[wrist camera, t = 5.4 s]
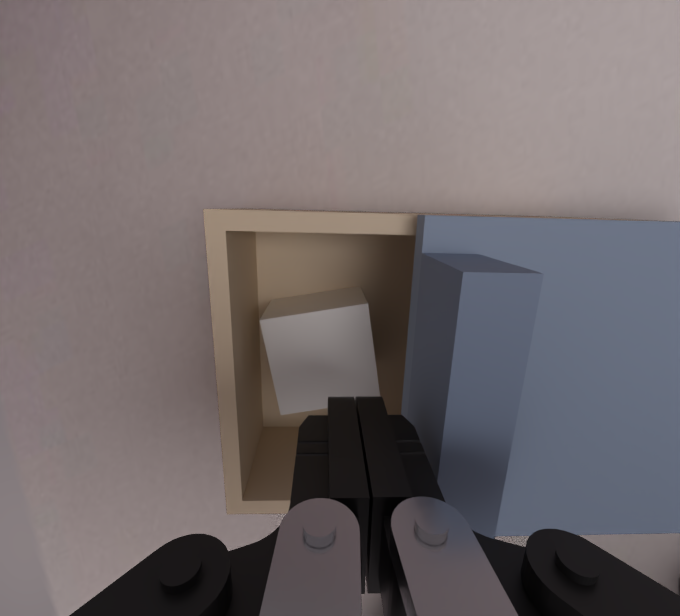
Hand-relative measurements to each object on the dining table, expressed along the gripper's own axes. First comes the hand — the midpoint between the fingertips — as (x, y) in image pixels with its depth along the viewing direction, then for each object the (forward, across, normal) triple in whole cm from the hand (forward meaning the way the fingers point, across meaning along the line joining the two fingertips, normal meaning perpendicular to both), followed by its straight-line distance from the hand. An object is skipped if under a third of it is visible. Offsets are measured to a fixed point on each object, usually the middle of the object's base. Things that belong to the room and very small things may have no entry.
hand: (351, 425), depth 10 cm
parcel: (+7, +1, 0) cm, 7 cm away
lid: (+2, -9, 0) cm, 9 cm away
